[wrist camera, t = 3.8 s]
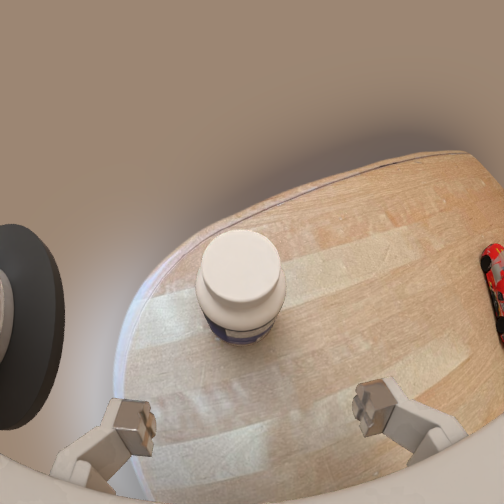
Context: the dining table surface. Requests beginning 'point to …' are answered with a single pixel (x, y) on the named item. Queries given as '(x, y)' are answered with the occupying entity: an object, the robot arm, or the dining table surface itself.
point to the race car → (495, 279)
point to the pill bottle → (240, 286)
